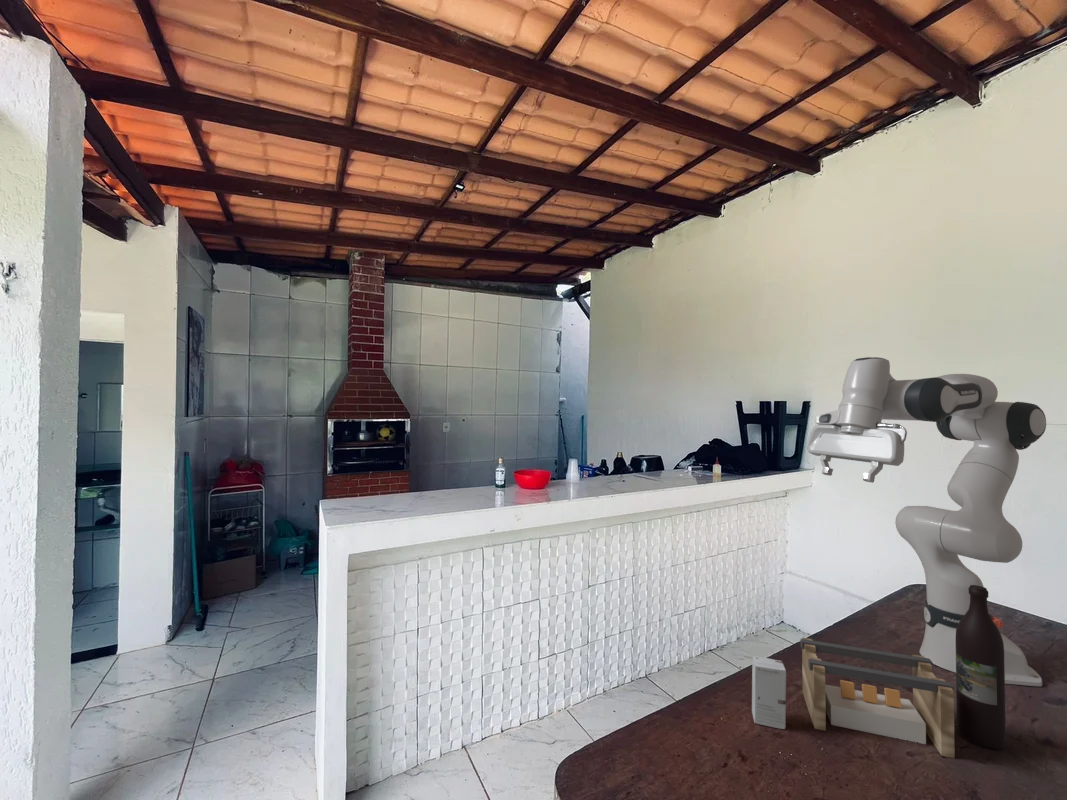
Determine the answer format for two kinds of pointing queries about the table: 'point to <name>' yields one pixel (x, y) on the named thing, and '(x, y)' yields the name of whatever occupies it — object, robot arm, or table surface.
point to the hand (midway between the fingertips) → (846, 478)
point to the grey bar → (880, 676)
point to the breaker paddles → (870, 693)
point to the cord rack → (927, 703)
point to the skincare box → (769, 692)
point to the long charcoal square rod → (866, 653)
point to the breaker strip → (874, 716)
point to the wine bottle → (980, 675)
